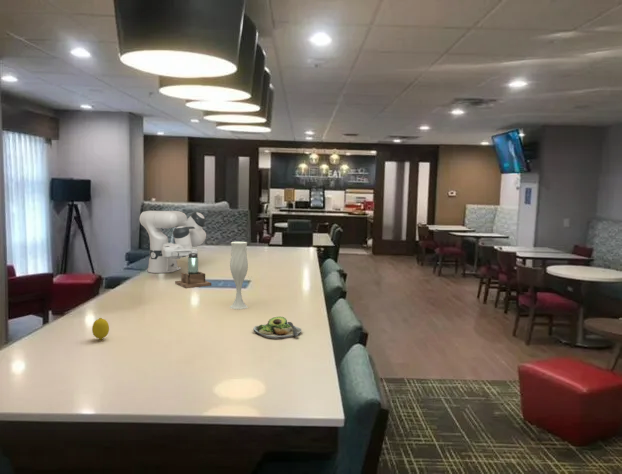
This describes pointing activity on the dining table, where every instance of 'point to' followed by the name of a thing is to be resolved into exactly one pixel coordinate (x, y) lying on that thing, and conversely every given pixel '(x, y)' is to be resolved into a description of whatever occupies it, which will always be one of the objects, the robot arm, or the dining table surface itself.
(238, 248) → the vase
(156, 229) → the robot arm
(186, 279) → the u rest
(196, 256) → the flask
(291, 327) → the salad plate
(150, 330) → the dining table surface
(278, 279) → the dining table surface
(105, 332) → the lemon
